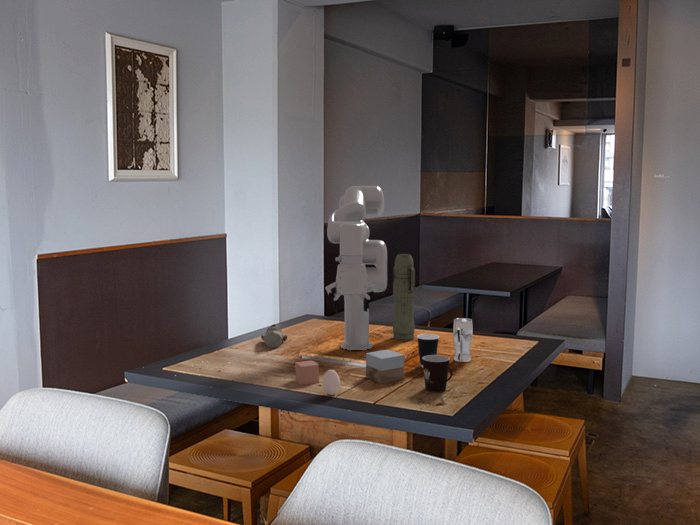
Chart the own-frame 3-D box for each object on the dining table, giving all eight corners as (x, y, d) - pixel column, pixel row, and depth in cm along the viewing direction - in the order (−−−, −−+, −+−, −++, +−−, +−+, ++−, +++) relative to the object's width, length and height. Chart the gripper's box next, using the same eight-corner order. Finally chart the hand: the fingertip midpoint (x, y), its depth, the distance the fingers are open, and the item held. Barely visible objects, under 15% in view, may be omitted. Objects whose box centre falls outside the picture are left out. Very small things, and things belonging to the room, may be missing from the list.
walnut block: (365, 377, 240) (365, 364, 239) (387, 373, 244) (387, 360, 244) (381, 384, 232) (381, 370, 231) (403, 380, 237) (403, 366, 236)
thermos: (399, 334, 303) (400, 252, 299) (421, 338, 295) (422, 254, 291) (385, 337, 297) (385, 254, 293) (407, 342, 289) (407, 256, 285)
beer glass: (471, 363, 257) (472, 322, 255) (452, 362, 258) (452, 321, 256) (472, 358, 264) (473, 318, 262) (453, 357, 265) (454, 317, 263)
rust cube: (295, 379, 237) (295, 362, 236) (312, 377, 239) (312, 360, 238) (301, 384, 231) (301, 366, 230) (318, 382, 233) (318, 364, 233)
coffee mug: (419, 385, 229) (420, 355, 228) (446, 384, 230) (446, 354, 229) (426, 396, 218) (427, 364, 217) (454, 395, 219) (454, 364, 217)
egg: (341, 396, 218) (341, 371, 217) (324, 397, 217) (323, 372, 216) (338, 391, 223) (338, 366, 223) (320, 392, 222) (320, 367, 221)
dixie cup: (415, 363, 256) (415, 333, 255) (437, 363, 256) (438, 333, 255) (417, 369, 248) (417, 338, 247) (440, 369, 248) (440, 338, 247)
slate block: (366, 364, 239) (366, 353, 238) (387, 361, 244) (387, 349, 243) (381, 370, 231) (381, 358, 231) (403, 366, 236) (403, 355, 236)
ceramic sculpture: (258, 327, 277) (261, 321, 292) (258, 349, 278) (261, 342, 293) (286, 327, 278) (287, 321, 292) (286, 349, 278) (287, 342, 293)
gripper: (327, 262, 231) (327, 314, 233) (379, 261, 234) (379, 312, 236) (323, 259, 239) (324, 310, 240) (374, 258, 242) (374, 308, 244)
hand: (351, 311), depth 238 cm, fingers open, 9 cm apart
